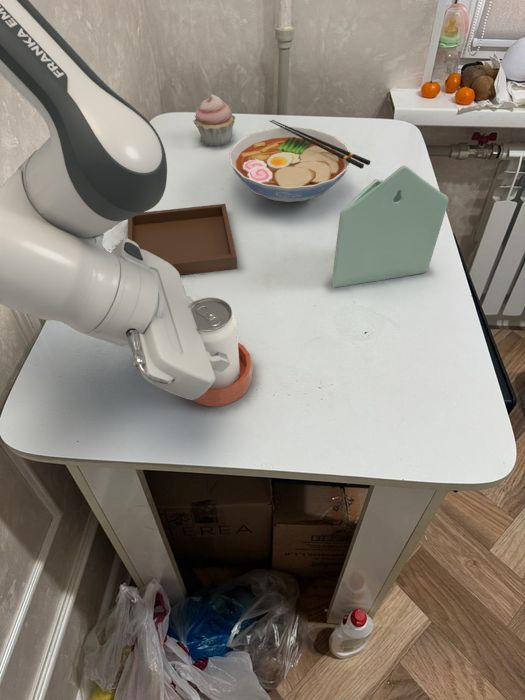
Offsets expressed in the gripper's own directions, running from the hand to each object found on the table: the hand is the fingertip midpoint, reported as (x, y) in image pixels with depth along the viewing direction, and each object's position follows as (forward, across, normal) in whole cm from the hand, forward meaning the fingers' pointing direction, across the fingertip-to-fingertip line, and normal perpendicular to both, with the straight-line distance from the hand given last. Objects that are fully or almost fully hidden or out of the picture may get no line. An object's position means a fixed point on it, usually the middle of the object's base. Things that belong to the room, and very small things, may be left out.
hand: (216, 341), depth 63 cm
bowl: (+5, 0, +6) cm, 7 cm away
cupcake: (+17, +65, -7) cm, 68 cm away
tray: (+6, +30, +4) cm, 31 cm away
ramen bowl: (+23, +40, -12) cm, 48 cm away
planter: (+26, +14, -16) cm, 34 cm away
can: (+4, 0, +5) cm, 7 cm away
